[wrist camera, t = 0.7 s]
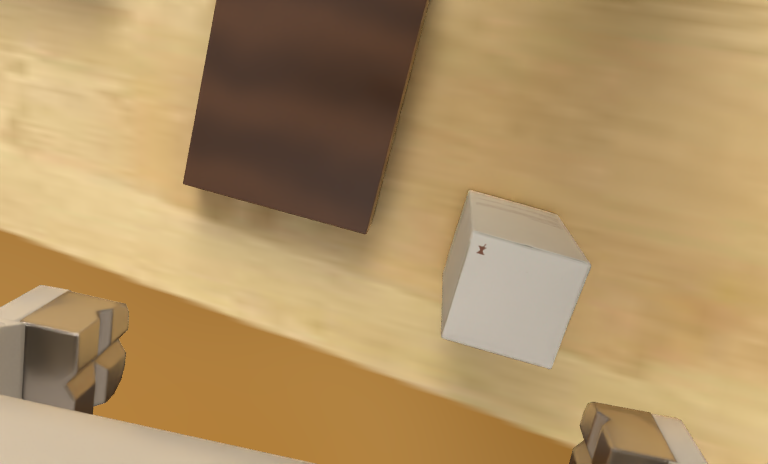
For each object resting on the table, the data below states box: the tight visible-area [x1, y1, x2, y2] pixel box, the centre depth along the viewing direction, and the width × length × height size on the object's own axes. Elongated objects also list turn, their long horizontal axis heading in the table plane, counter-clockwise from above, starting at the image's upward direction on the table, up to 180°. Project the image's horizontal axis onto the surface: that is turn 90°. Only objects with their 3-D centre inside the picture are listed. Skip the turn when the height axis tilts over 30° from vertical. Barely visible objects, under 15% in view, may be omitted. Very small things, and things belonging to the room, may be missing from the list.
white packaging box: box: [441, 190, 591, 369], centre depth 48 cm, size 7×7×13 cm
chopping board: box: [183, 0, 430, 234], centre depth 51 cm, size 20×14×4 cm
